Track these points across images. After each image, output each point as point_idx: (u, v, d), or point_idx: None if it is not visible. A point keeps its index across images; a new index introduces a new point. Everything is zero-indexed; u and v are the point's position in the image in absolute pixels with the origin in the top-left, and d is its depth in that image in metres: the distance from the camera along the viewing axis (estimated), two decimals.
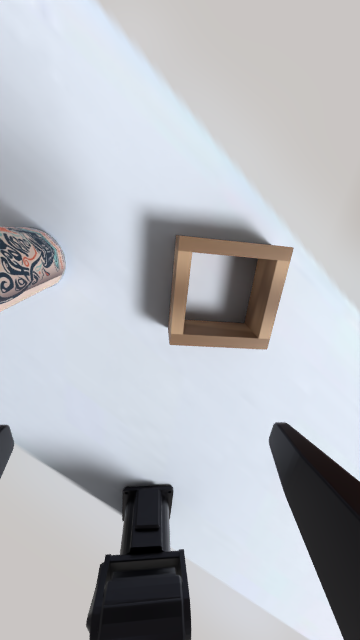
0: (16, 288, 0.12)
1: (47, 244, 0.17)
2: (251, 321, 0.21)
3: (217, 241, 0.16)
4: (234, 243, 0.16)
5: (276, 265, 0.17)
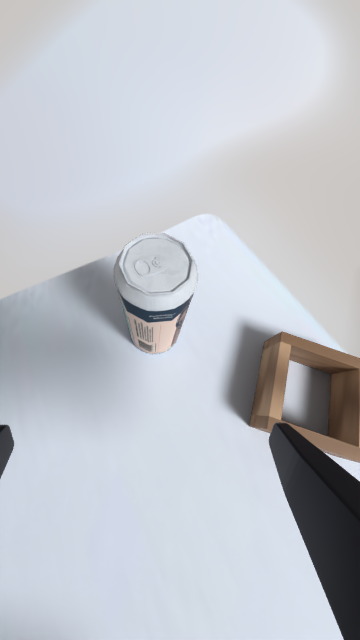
0: (183, 317, 0.16)
1: None
2: (340, 434, 0.20)
3: (310, 342, 0.21)
4: (323, 347, 0.21)
5: (359, 373, 0.20)
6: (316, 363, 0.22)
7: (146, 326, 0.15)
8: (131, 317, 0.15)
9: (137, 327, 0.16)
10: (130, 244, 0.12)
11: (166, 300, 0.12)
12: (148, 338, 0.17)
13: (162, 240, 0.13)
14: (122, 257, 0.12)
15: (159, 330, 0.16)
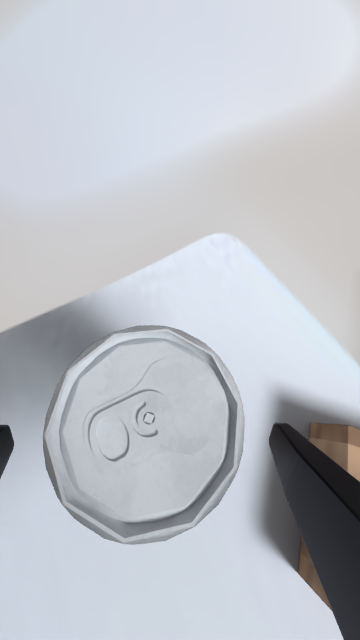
0: None
1: None
2: None
3: None
4: None
5: None
6: None
7: None
8: None
9: None
10: (83, 363, 0.05)
11: None
12: None
13: (162, 346, 0.05)
14: (58, 407, 0.05)
15: None
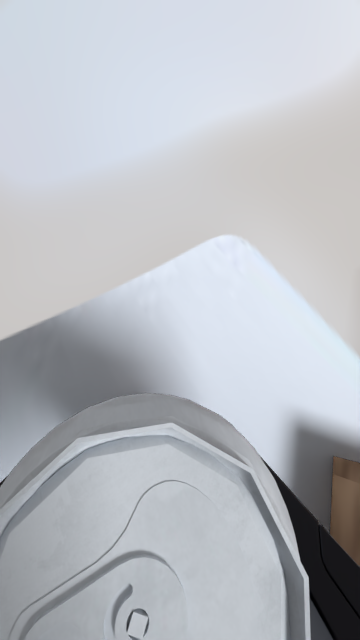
0: None
1: None
2: None
3: None
4: None
5: None
6: None
7: None
8: None
9: None
10: (19, 499, 0.03)
11: None
12: None
13: (163, 453, 0.03)
14: None
15: None
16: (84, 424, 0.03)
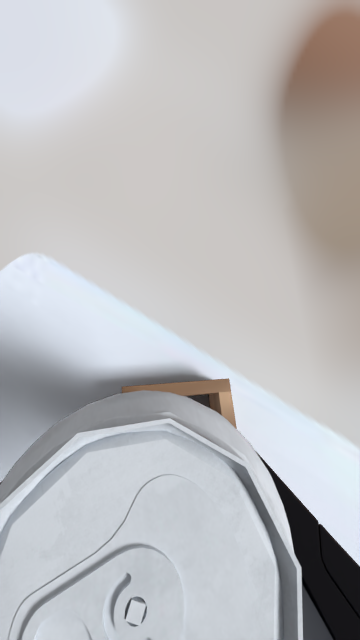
0: None
1: None
2: None
3: (157, 385, 0.18)
4: (173, 384, 0.18)
5: (219, 397, 0.18)
6: None
7: None
8: None
9: None
10: (21, 491, 0.03)
11: None
12: None
13: (161, 448, 0.03)
14: None
15: None
16: (84, 420, 0.03)
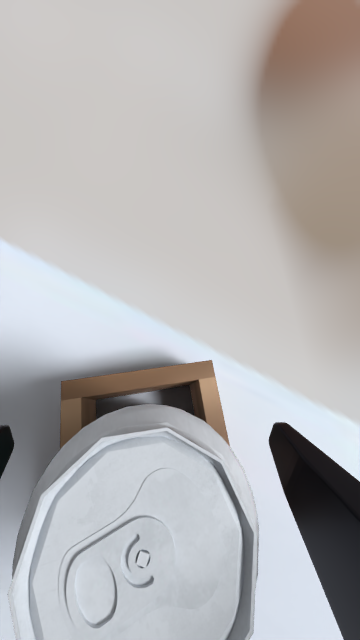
0: None
1: None
2: None
3: (113, 376, 0.13)
4: (136, 373, 0.13)
5: (200, 386, 0.13)
6: (153, 389, 0.15)
7: None
8: None
9: None
10: (62, 478, 0.04)
11: None
12: None
13: (161, 449, 0.04)
14: (28, 547, 0.04)
15: None
16: (104, 428, 0.05)
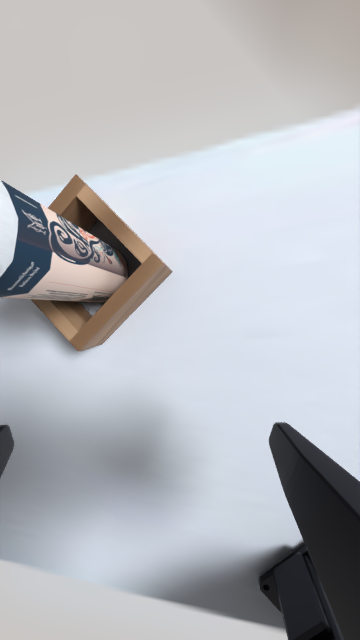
0: (76, 248, 0.11)
1: None
2: None
3: None
4: None
5: (80, 199, 0.15)
6: None
7: (39, 294, 0.11)
8: (17, 297, 0.11)
9: (45, 297, 0.12)
10: None
11: None
12: (74, 296, 0.14)
13: None
14: None
15: (63, 284, 0.12)
16: None
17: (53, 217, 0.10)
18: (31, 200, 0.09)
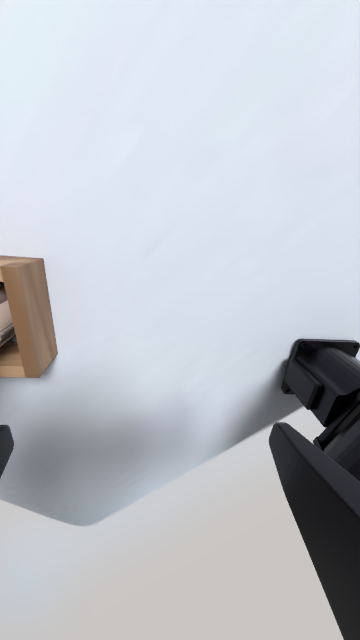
0: None
1: None
2: None
3: None
4: None
5: None
6: None
7: None
8: None
9: None
10: None
11: None
12: None
13: None
14: None
15: None
16: None
17: None
18: None
